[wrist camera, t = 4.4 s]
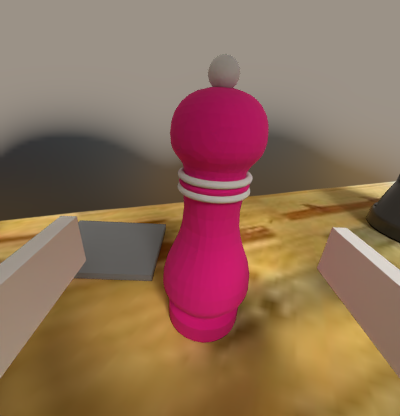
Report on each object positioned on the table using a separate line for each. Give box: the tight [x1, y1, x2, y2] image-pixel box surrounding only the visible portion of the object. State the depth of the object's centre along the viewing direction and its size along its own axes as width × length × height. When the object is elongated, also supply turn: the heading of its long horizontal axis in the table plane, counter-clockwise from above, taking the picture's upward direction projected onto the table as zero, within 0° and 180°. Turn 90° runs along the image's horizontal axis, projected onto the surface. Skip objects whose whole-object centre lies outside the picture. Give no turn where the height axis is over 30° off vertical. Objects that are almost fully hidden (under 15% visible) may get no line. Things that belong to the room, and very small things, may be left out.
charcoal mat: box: [74, 221, 166, 281], centre depth 28 cm, size 13×11×1 cm
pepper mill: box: [163, 54, 268, 342], centre depth 16 cm, size 7×7×20 cm
